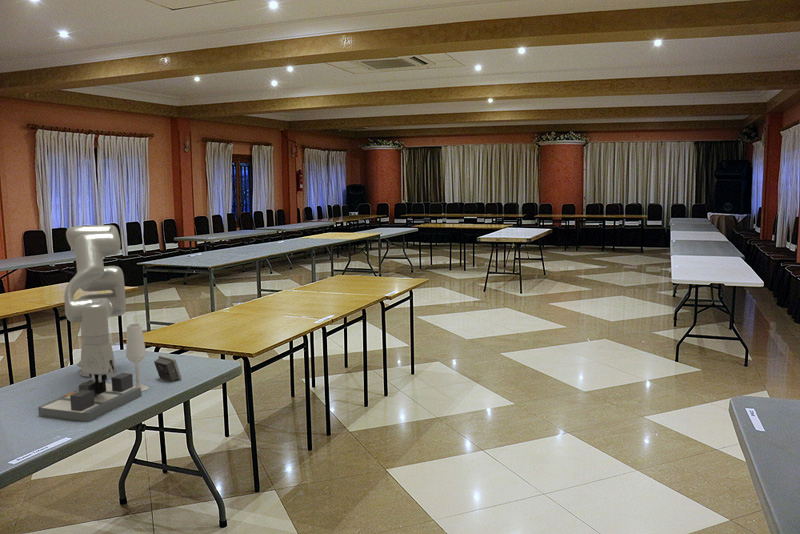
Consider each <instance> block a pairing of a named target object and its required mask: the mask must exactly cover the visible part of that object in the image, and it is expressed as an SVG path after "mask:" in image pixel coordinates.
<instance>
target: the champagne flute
mask: <svg viewBox="0 0 800 534" xmlns="http://www.w3.org/2000/svg"><path fill="white" fill-rule="evenodd" d="M143 332H144V331H143V327H142V324H141V323H130V324H128V325H126V345H125V346H126V349H125V351H126V352H125V356H126V359H127V360H128V361H130V362H131V363H133V364H134V365H135V367H134V368H135V378H136V379H135V381H136V383H135V385H134V384H133V386H137V388H141V392H143V391H147V390H148V389H149V386H148V385H145V384H142V383H141V381H140V380H141V379H140V378H141V377H140V364H139V363H141V362H142V361H143V360H144V359H145V357H146V355H147V349H146V345H145V344H146V343H145V339H144V338H145V337H144V333H143Z"/></svg>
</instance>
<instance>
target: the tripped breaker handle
mask: <svg viewBox="0 0 800 534" xmlns="http://www.w3.org/2000/svg"><path fill="white" fill-rule="evenodd" d="M78 390H79V391H82V390H90V391H94V396H97V395H99V394H96V393H95V383H94V382H93V381H92V379H89V380H86V381H84V382H82V383H79V384H78Z"/></svg>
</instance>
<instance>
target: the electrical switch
mask: <svg viewBox="0 0 800 534" xmlns="http://www.w3.org/2000/svg"><path fill="white" fill-rule="evenodd" d="M153 363H154V365H155V368H156V372H157V374H158V377H159V379H161V380H164V381H168V382H171V383H174V381H177V380H179V381H180V380H181V379H182V375H181V372H180V369H179V367H178V363H177V360H176V359H175V357H171V356H166V355H162V354H159V355H158V358H157V359H155V360H154V361H153Z"/></svg>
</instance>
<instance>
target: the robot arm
mask: <svg viewBox="0 0 800 534" xmlns="http://www.w3.org/2000/svg"><path fill="white" fill-rule="evenodd" d="M65 236H66V240H67V243H68V245H69V247H70V248H71V250H72V251H73V253H74V255H75V262H76V274H75V275H74V276H73V277H72V278H71V280H69V282H68V284H67V285H66V287H65V290H64V296H63V298H64V299H63V300H64V312H65V313H64V314H65V317H66V319H67V320H68V321H69V322H71V323H79V326H80V335H81V336H80V337H81V349H80V350H81V351H80V360H79V362H77V364H76V366H77V367H79V368H80V371H79V375H80V376H81V377H83V378H85V377H86V378H91V380H92V381H93V382H94V383H95V393H96V394H101V393H103V392H105V391H106V383H107V382H106V381H107V380H108V379H109V378H112V377H114V376H115V371H116V365H115V354H114V351H113V346H112V344H111V342H110V333H109V332H110V331H109V330H110V329H109V321H108V320H109V318H112V317H119V316H123V315H124V314H125V313H126V312H127V311H126V309H127V302H126V288H125V277H124V272H123V270H122V268H121V267H119V266H118V265H117V266H116V265H108V266H104V256H105V257H106V256H117V255H119V253H120V251H121V239H120V234H119V231H118V228H117V226H115V225H113V224H100V225H98V224H97V225H96V224H95V225H93V224H92V225H77V226H70V227H69V228H67V230H66V232H65ZM78 290H81V291H83V292H102V291H111V292H106V293H105V292H104V293H90V294H84V295H81V296H80V297H78V299H74V295H75V293H76V292H77V291H78Z"/></svg>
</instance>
